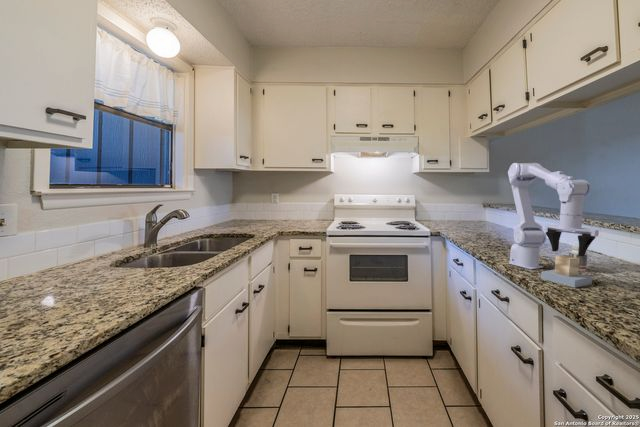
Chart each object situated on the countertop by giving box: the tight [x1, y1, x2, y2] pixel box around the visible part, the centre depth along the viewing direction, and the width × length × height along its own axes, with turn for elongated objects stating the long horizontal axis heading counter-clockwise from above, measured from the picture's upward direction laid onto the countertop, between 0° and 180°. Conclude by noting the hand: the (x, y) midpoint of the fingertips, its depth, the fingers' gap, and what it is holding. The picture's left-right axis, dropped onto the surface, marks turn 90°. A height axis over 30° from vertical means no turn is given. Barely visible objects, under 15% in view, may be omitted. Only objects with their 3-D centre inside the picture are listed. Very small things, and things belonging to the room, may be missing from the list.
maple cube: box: [554, 254, 580, 276], centre depth 96 cm, size 4×4×6 cm
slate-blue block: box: [540, 268, 593, 289], centre depth 96 cm, size 10×10×3 cm
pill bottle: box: [568, 244, 588, 272], centre depth 110 cm, size 5×5×10 cm
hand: (567, 253), depth 95 cm, fingers open, 7 cm apart
